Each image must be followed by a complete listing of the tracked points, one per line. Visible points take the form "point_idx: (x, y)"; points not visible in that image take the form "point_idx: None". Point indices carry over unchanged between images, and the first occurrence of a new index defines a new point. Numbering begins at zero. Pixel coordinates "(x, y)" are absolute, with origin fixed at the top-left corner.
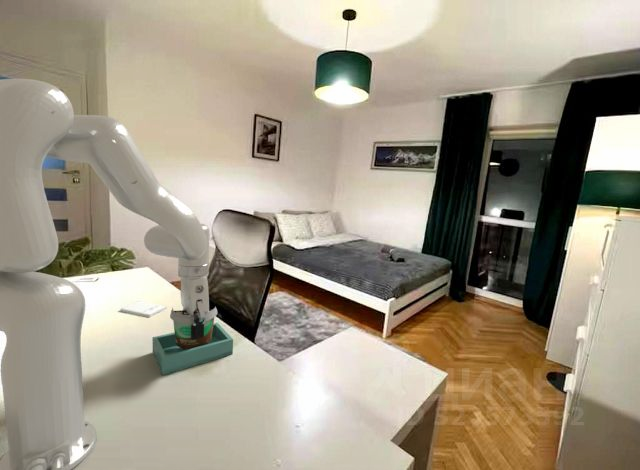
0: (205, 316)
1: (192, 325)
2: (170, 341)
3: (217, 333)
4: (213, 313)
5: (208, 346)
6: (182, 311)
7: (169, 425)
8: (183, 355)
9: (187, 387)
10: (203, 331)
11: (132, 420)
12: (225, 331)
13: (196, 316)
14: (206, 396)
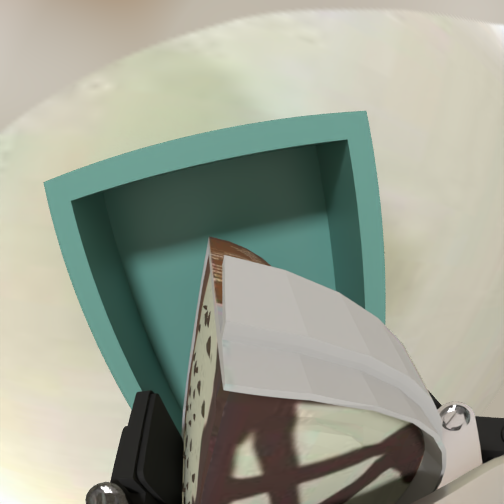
0: (440, 438)
1: None
2: (176, 422)
3: (130, 183)
4: (404, 366)
5: (383, 282)
6: None
7: (500, 343)
8: None
9: (440, 325)
10: None
11: None
12: (217, 131)
13: (414, 498)
14: (488, 274)
